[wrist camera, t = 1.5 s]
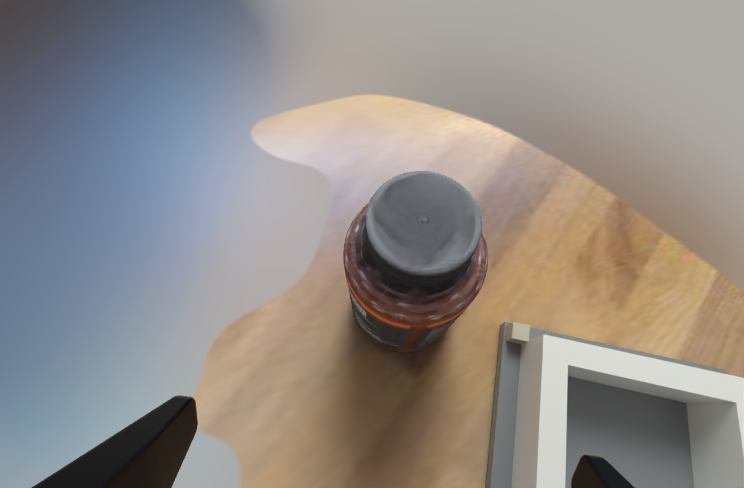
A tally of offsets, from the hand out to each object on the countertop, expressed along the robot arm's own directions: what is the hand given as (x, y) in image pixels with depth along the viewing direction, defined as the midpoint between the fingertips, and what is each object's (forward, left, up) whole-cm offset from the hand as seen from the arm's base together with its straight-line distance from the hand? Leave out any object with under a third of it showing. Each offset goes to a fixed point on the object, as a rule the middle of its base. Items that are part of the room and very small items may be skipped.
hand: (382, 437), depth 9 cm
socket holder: (+1, -12, -13) cm, 18 cm away
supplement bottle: (+7, 0, -13) cm, 15 cm away
